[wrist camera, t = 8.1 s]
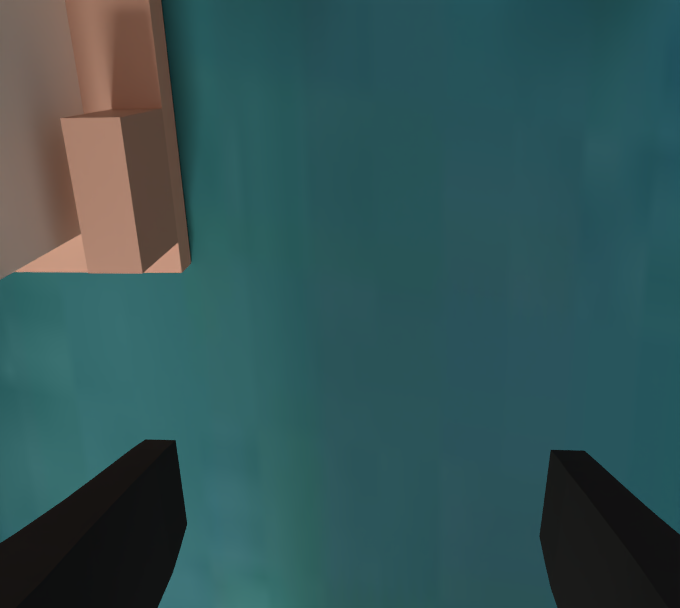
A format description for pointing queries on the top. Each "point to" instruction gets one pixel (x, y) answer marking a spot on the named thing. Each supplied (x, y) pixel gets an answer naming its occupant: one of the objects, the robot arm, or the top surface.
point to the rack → (122, 146)
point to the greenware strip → (35, 130)
